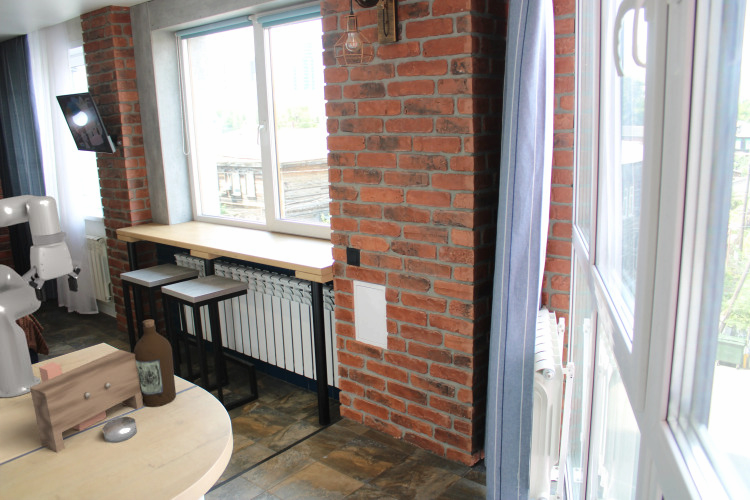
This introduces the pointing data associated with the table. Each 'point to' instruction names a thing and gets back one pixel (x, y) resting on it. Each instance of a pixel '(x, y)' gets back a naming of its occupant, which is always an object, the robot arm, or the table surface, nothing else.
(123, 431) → the puck
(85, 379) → the cabinet
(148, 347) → the olive oil
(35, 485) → the table surface
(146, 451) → the table surface
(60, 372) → the block
